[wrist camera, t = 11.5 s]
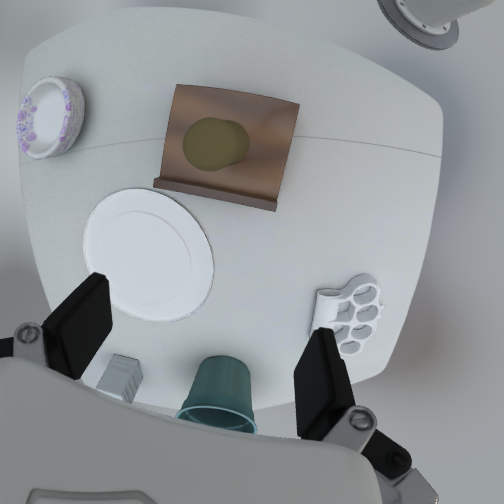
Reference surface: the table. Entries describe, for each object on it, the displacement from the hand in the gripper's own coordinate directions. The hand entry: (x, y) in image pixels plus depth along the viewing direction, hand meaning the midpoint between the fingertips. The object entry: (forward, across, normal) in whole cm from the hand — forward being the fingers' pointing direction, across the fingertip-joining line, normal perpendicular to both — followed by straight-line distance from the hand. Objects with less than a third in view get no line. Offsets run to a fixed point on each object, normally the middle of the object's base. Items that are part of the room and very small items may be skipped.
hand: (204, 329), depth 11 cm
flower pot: (+34, -3, +43) cm, 55 cm away
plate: (+34, +17, +18) cm, 42 cm away
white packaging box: (+34, +22, +51) cm, 65 cm away
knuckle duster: (+34, -24, +19) cm, 46 cm away
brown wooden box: (+34, +4, -6) cm, 35 cm away
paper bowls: (+34, +38, -8) cm, 52 cm away
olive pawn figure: (+26, +4, -6) cm, 27 cm away
